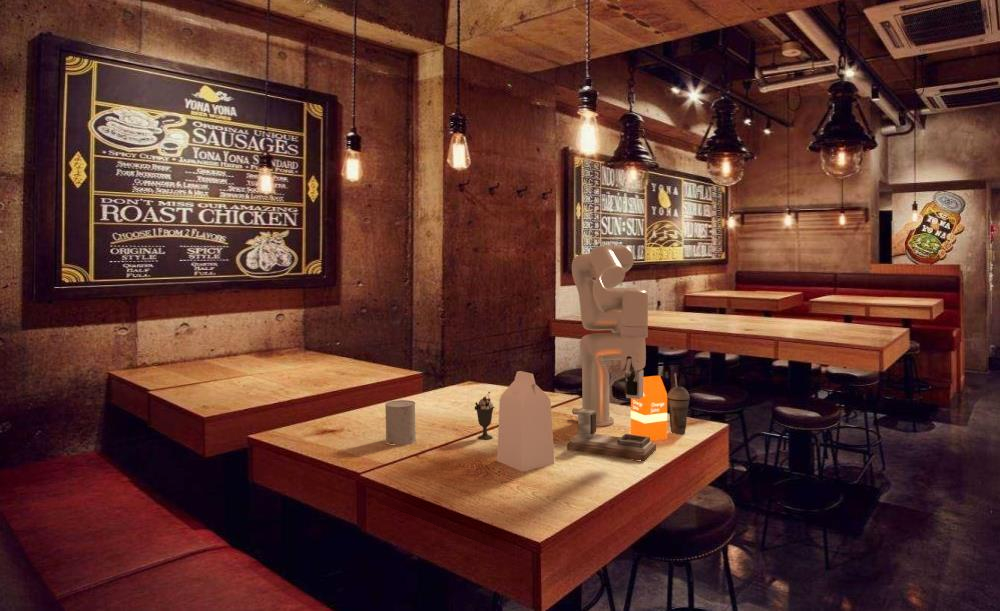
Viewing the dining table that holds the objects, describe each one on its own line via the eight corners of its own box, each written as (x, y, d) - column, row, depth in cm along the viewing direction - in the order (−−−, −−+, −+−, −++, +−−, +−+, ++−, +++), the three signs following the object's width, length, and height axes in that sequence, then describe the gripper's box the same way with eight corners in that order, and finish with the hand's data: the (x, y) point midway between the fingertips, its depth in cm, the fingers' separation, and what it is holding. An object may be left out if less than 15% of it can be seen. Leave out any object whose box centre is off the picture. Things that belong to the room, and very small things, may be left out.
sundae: (498, 435, 210) (497, 390, 208) (491, 441, 203) (490, 395, 202) (479, 434, 212) (478, 389, 211) (471, 439, 205) (471, 393, 204)
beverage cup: (690, 436, 207) (691, 375, 206) (667, 435, 209) (668, 374, 207) (688, 430, 214) (689, 371, 213) (666, 429, 216) (666, 370, 214)
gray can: (391, 447, 198) (390, 408, 197) (382, 439, 206) (381, 402, 206) (420, 442, 202) (419, 404, 201) (410, 435, 211) (409, 399, 210)
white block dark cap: (624, 397, 187) (624, 370, 187) (628, 395, 191) (628, 368, 190) (639, 399, 185) (639, 372, 185) (643, 396, 189) (643, 369, 188)
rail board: (566, 450, 193) (566, 413, 192) (581, 440, 204) (581, 405, 203) (644, 461, 182) (644, 423, 181) (655, 450, 192) (656, 414, 191)
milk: (554, 463, 181) (554, 373, 179) (522, 471, 174) (521, 378, 172) (528, 453, 191) (528, 367, 189) (497, 460, 184) (496, 371, 182)
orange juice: (630, 435, 208) (630, 375, 207) (652, 432, 212) (653, 373, 210) (644, 442, 201) (645, 379, 199) (667, 438, 204) (668, 377, 203)
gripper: (631, 328, 196) (630, 387, 197) (612, 334, 181) (612, 397, 182) (655, 329, 192) (654, 389, 193) (638, 335, 177) (638, 400, 179)
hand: (634, 392), depth 188 cm, fingers closed on white block dark cap, 4 cm apart
